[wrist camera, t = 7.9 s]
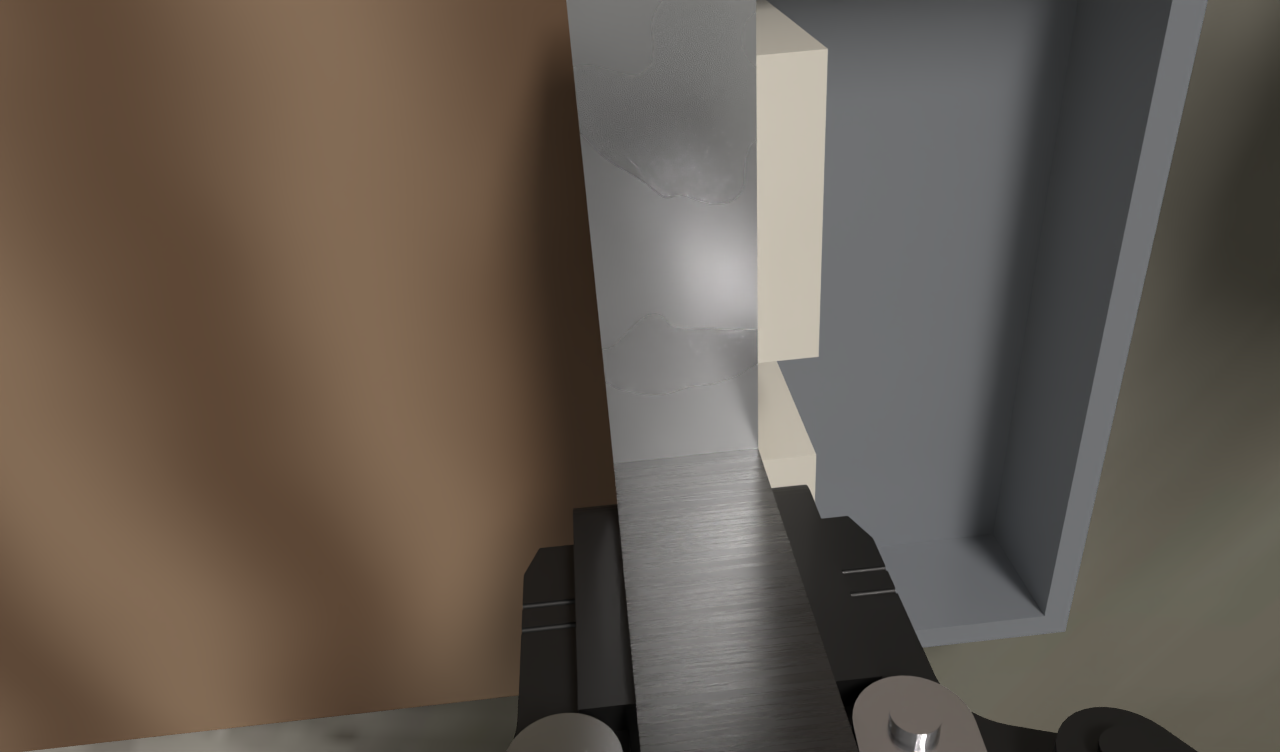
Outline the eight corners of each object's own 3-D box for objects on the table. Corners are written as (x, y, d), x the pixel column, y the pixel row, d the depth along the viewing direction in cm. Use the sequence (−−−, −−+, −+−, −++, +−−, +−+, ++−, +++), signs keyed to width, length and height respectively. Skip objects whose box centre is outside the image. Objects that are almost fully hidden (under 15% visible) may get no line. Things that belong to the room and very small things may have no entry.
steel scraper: (640, 721, 20) (695, 1289, 12) (563, -39, 12) (578, 181, 4) (733, 711, 20) (846, 1270, 12) (713, -51, 12) (983, 144, 5)
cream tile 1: (671, 371, 16) (818, 357, 16) (651, 65, 13) (827, 49, 13) (645, 255, 20) (761, 243, 20) (627, 7, 17) (760, -5, 17)
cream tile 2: (690, 665, 19) (810, 651, 19) (678, 469, 17) (816, 454, 17) (665, 512, 23) (763, 501, 23) (652, 338, 21) (762, 326, 21)
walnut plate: (73, 624, 24) (-6, 754, 21) (-277, -35, 16) (-499, 0, 13) (641, 562, 25) (655, 679, 21) (577, -108, 17) (584, -93, 13)
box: (642, 576, 25) (654, 677, 22) (575, -140, 16) (580, -134, 13) (1004, 537, 25) (1064, 631, 22) (1126, -186, 17) (1250, -191, 14)
